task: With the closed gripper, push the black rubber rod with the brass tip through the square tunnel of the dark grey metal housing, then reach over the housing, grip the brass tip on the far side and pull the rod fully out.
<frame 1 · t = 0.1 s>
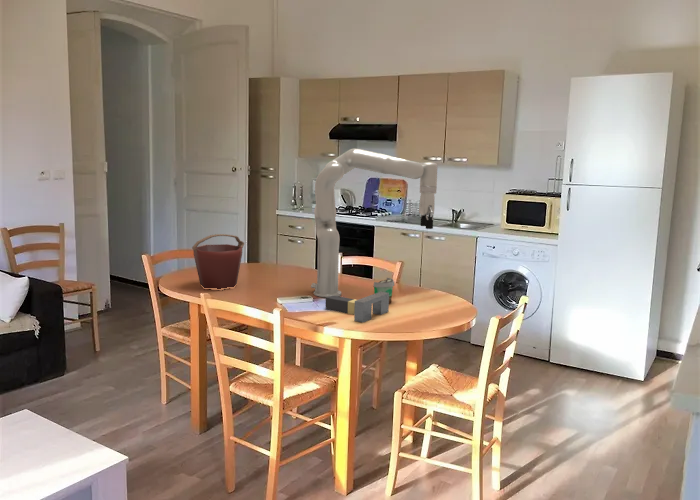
hand: (426, 227, 283), 31 cm above the table, tool pointing down, fingers open, 9 cm apart
housing: (371, 316, 248), on the table
rod: (342, 310, 255), on the table
food container: (385, 303, 269), on the table
bucket: (219, 287, 293), on the table
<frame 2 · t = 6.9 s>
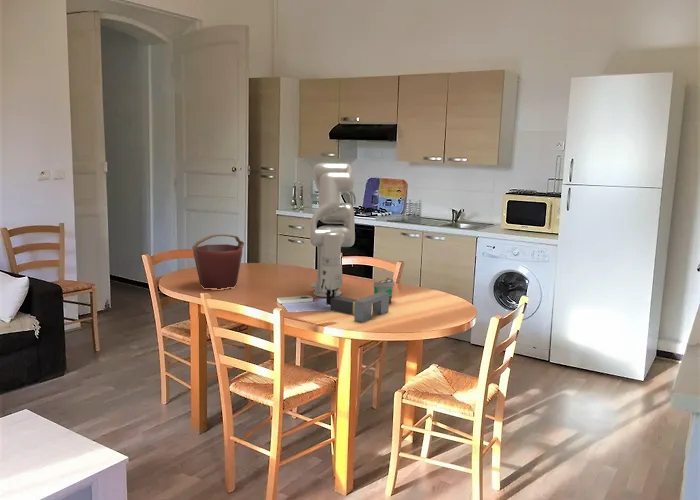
hand: (330, 304, 258), 2 cm above the table, tool pointing down, fingers closed
rod: (347, 311, 254), on the table
everything else where it was.
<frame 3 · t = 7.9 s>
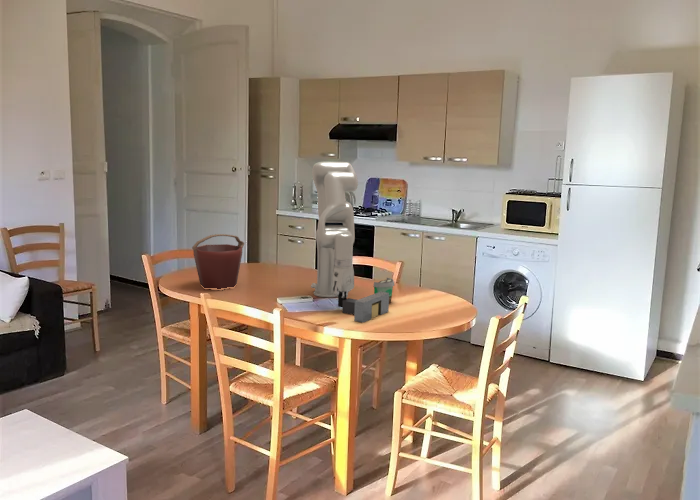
hand: (342, 306, 255), 2 cm above the table, tool pointing down, fingers closed
rod: (360, 313, 251), on the table, touching gripper
everything else where it was.
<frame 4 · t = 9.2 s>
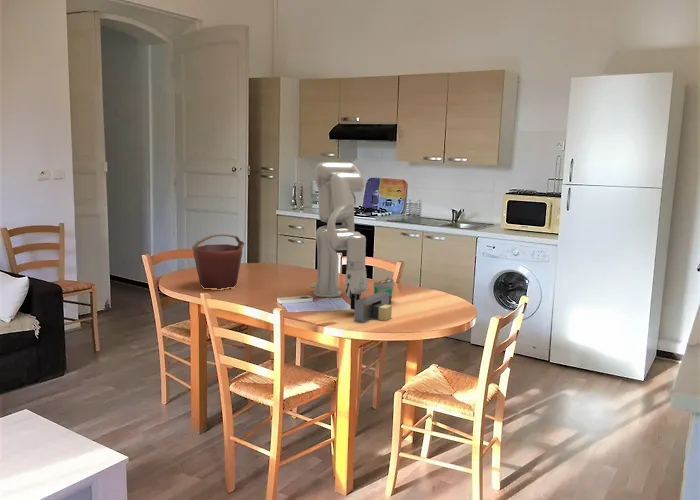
hand: (354, 309, 252), 2 cm above the table, tool pointing down, fingers closed
rod: (372, 316, 248), on the table, touching gripper
everything else where it was.
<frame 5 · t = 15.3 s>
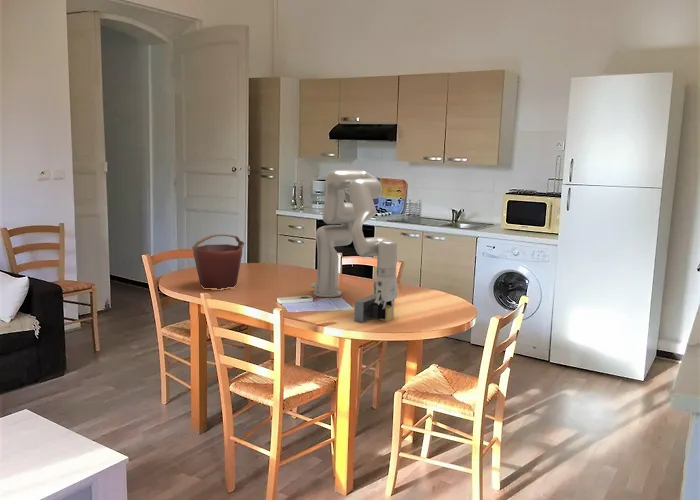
hand: (385, 316, 245), 1 cm above the table, tool pointing down, fingers closed on rod, 5 cm apart
rod: (375, 316, 247), on the table, touching gripper
everything else where it was.
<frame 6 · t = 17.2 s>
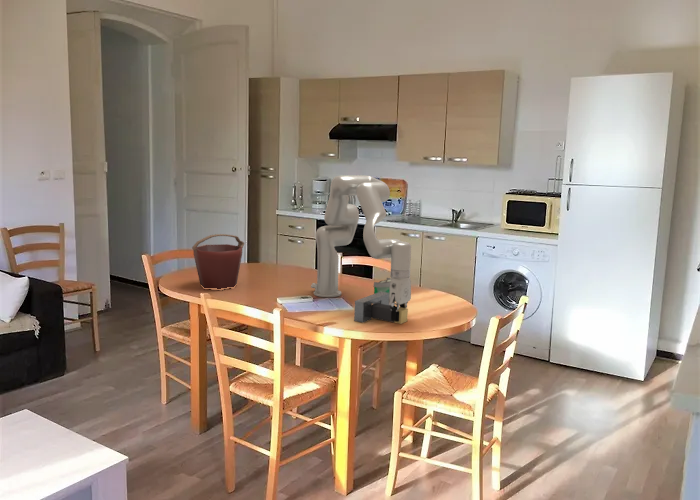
hand: (398, 318, 241), 1 cm above the table, tool pointing down, fingers closed on rod, 5 cm apart
rod: (388, 319, 244), on the table, touching gripper
everything else where it was.
when the fingers open (1 cm above the table, at t = 19.1 s): rod stays where it is, on the table.
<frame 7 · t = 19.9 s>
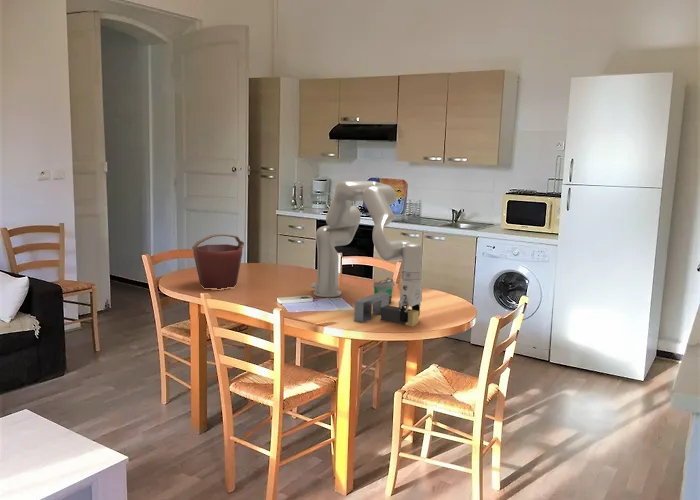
hand: (409, 318, 239), 2 cm above the table, tool pointing down, fingers open, 9 cm apart
rod: (399, 321, 241), on the table
everything else where it was.
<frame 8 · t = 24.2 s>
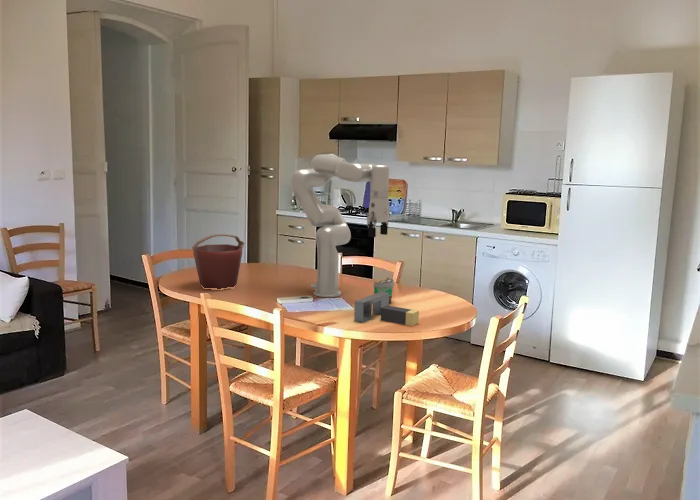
hand: (377, 235, 259), 30 cm above the table, tool pointing down, fingers open, 9 cm apart
nothing on the table moved.
at the end: rod inside the target area (5.5 cm from its centre), on the table; the gripper is holding nothing; rod moved 26.5 cm from its start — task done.
